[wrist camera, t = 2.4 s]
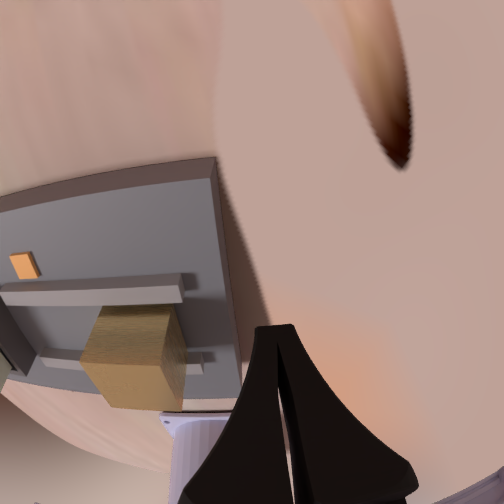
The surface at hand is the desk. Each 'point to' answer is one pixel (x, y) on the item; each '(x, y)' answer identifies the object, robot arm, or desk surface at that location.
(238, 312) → the desk surface
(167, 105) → the desk surface
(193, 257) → the control panel
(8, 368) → the button sage
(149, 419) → the desk surface
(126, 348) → the slider knob
